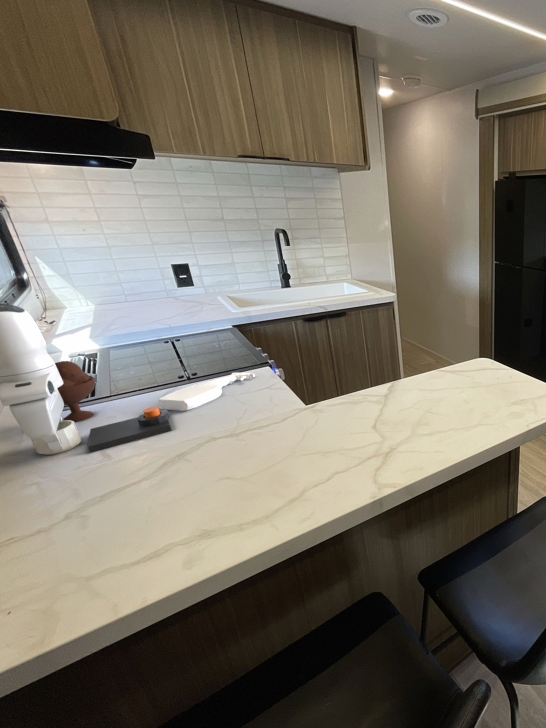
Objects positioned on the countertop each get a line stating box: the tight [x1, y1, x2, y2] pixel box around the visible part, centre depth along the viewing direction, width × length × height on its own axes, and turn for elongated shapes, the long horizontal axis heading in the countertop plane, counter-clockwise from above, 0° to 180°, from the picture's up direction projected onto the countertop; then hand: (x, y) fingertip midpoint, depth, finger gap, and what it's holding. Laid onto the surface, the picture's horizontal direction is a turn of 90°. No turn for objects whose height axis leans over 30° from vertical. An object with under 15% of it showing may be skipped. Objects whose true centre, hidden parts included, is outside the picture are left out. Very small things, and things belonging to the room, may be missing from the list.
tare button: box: [142, 406, 160, 418], centre depth 96 cm, size 3×3×2 cm
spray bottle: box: [157, 372, 256, 412], centre depth 116 cm, size 3×11×24 cm
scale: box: [87, 409, 172, 453], centre depth 94 cm, size 14×11×3 cm
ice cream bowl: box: [54, 360, 96, 423], centre depth 100 cm, size 11×11×15 cm
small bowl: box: [30, 419, 83, 456], centre depth 88 cm, size 7×7×5 cm
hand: (58, 440), depth 88 cm, fingers closed on small bowl, 7 cm apart
